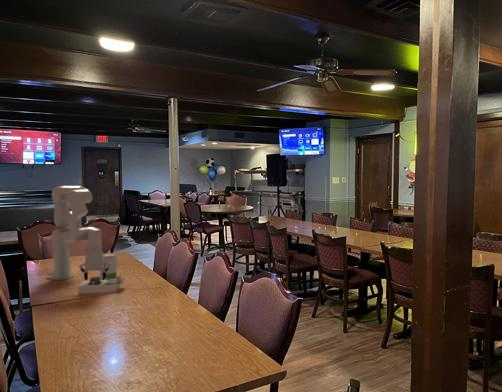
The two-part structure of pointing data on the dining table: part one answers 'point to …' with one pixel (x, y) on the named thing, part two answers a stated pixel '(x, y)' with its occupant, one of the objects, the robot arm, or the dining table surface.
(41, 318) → the dining table surface
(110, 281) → the shutter
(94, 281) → the plug
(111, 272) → the skincare box
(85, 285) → the socket block
